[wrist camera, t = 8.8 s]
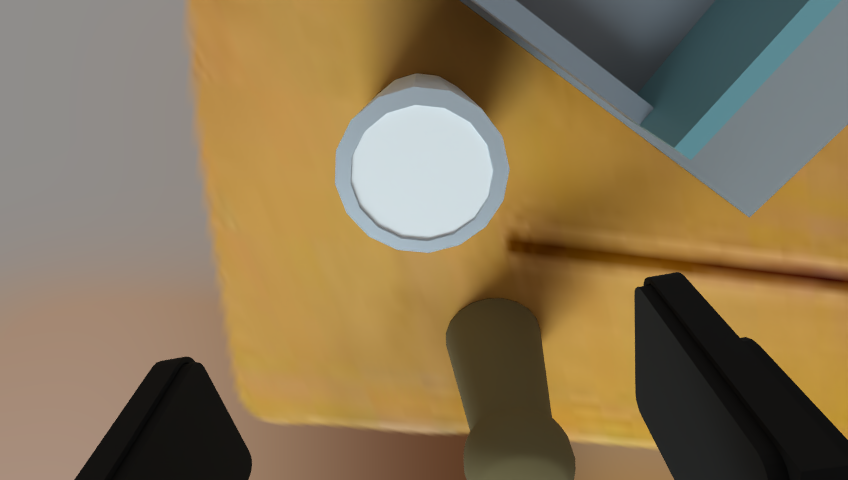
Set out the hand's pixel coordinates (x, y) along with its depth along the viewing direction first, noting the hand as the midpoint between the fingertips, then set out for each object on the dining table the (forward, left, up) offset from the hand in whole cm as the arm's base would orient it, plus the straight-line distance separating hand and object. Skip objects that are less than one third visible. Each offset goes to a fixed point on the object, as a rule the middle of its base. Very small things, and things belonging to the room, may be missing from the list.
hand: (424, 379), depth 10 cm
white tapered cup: (0, 0, -18) cm, 18 cm away
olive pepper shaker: (-11, +9, -18) cm, 23 cm away
